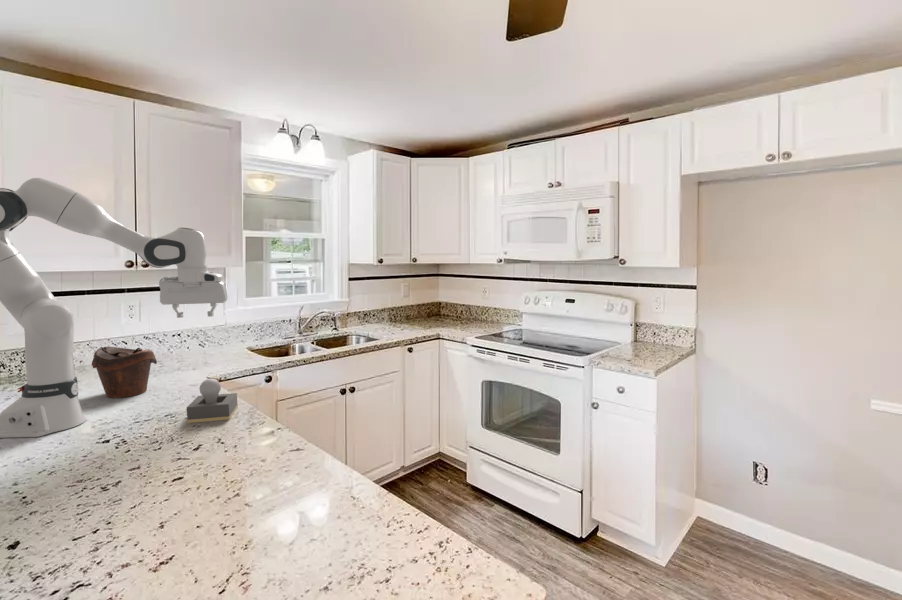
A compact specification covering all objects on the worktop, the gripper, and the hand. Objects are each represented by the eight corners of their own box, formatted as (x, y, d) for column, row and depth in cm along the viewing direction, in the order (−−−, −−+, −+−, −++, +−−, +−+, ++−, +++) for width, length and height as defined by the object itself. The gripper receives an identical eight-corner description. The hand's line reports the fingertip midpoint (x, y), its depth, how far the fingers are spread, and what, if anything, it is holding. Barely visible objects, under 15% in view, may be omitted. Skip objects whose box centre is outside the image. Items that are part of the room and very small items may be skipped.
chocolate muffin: (160, 393, 173) (156, 346, 171) (93, 404, 162) (88, 354, 160) (158, 383, 188) (154, 340, 186) (96, 392, 177) (92, 346, 175)
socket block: (187, 422, 143) (186, 407, 142) (199, 410, 154) (198, 395, 154) (229, 419, 146) (228, 404, 145) (237, 407, 157) (236, 393, 157)
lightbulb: (214, 415, 146) (211, 382, 145) (196, 414, 147) (194, 381, 146) (226, 408, 152) (224, 376, 151) (210, 407, 153) (207, 375, 152)
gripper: (154, 277, 150) (157, 319, 151) (222, 276, 155) (225, 316, 156) (162, 276, 156) (165, 316, 158) (227, 275, 161) (229, 314, 162)
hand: (195, 316), depth 157 cm, fingers open, 8 cm apart
